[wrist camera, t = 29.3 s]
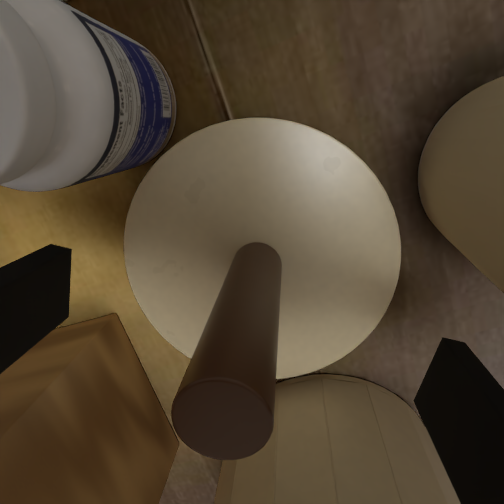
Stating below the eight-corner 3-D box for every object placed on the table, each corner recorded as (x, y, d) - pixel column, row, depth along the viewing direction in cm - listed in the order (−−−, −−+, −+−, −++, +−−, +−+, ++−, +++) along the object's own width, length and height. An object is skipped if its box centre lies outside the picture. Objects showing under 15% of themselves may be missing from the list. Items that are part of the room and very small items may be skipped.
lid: (90, 169, 18) (-186, 228, 8) (360, 73, 16) (512, -39, 5) (187, 386, 22) (93, 624, 11) (416, 337, 19) (568, 587, 9)
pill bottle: (47, 129, 18) (-226, 133, 8) (86, 10, 16) (-209, -160, 6) (150, 189, 18) (3, 256, 9) (201, 80, 16) (83, 17, 7)
